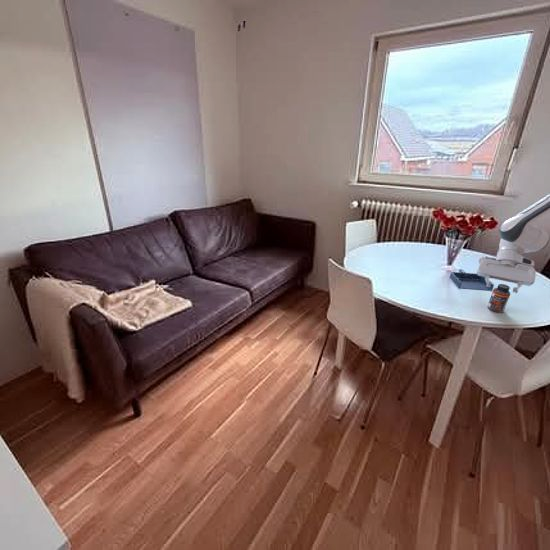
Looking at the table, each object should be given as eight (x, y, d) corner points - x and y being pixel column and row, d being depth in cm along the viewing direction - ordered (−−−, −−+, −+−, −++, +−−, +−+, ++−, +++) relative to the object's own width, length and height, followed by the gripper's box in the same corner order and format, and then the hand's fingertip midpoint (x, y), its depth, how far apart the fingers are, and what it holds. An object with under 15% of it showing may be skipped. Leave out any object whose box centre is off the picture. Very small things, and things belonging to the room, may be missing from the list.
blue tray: (491, 290, 149) (494, 284, 147) (458, 288, 150) (460, 282, 149) (473, 274, 166) (475, 268, 165) (444, 271, 168) (446, 266, 167)
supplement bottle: (486, 310, 132) (495, 286, 127) (487, 304, 136) (495, 281, 131) (503, 314, 129) (512, 290, 124) (503, 308, 133) (512, 285, 129)
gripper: (481, 252, 137) (474, 280, 133) (539, 262, 127) (533, 292, 124) (478, 258, 142) (471, 285, 139) (534, 269, 132) (528, 298, 129)
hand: (501, 289), depth 131 cm, fingers open, 8 cm apart
